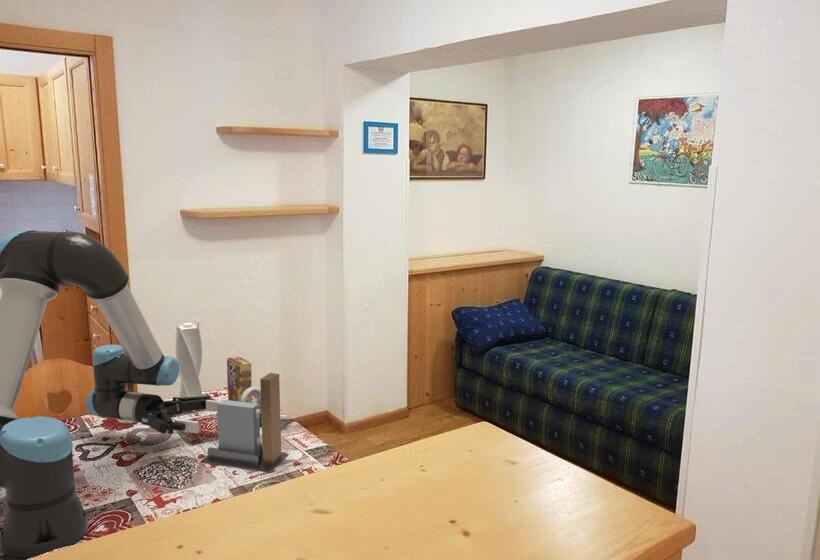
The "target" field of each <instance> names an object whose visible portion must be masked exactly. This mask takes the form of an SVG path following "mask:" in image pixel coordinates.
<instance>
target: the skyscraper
mask: <svg viewBox="0 0 820 560" xmlns="http://www.w3.org/2000/svg"><path fill="white" fill-rule="evenodd" d="M201 337H202V336H201V332H200V320H199V319H198V318H195V320H194V322H186V323H182V325H180V324H178V323H177V324H176V330H175V359H177V361H178V363H179V375H178V376H179V378H180V390H179V397H201V396H204V395H203V391H202V387H201V386H202V385H201V380H200V373H201V369H202V362H203V361H202V360H203V345H202V344H203V343H202V338H201ZM177 411H179V407H178V408H177ZM198 411H199V410H193V411H186V412H189V413H196V412H198Z"/></svg>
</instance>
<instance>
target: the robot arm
mask: <svg viewBox="0 0 820 560" xmlns="http://www.w3.org/2000/svg"><path fill="white" fill-rule="evenodd" d="M129 282H130V278H129V275H128V273H127V271H126V269H125V267H124V266H123V264H122V263H121V261H120V260H119V259H118V258H117V256H116V255H115V254H114V253H113V252H112V251H111V250H110V249H109V248H108V247H107V246H105V245H104V244H103V243H102V242H100V241H99V240H97V239H96V238H94V237H92V236H90V235H88V234H85V233H83V232H78V231H47V230H46V231H45V230H42V231H41V230H33V229H28V230H21V231H19V230H18V231H13V232H11V233H9V234H8V233H7V234H6V235H5V236H4V237H3V238H1V240H0V289H1V291H2V294H1V296H0V488H1V489H5V494H6V495H5V496H6V504H7V505H6V506H7V509H6V513H5V517H4V521H3V527H2V529H1V531H0V549H1V551H2V553H4V554H5V555H6V556H9V557H11V558H17V559H31V558H30V557H33V556H38V555H40V554H43V553H46V552H49V551H52V550H54V549H58V548H62V547H65V546H69V545H71V546H72V544H73V545H74V544H76V543H77V542H78V541H80V540H81V539H82V538H83V537H84V536H86V533H87V532H88V529H89V520H88V515H87V512H86V511H85V509H84V508H83V507H84V506H83V505H82V503H81V500H80V499H79V497H78V495H77V493H76V484H75V472H74V455H73V448H74V447H73V442H72V439H71V438H72V437H71V432H70V429H69V426H68V425H67V424H66V423H64V421H63V420H62V421H61V420H60V419H57V418H54V417H51V416H50V417H49V416H39V415H38V416H33V417H29V416H26V417H21V418H19V417H18V415H17V414H16V413H15V407H16V404H17V401H18V397H19V395H20V391H21V388H22V385H23V382H24V378H25V375H26V372H27V368H28V366H29V362H30V359H31V355H32V352H33V351H34V350H33V349H34V346H35V342H36V340H37V337H38V333H39V329H40V326H41V324H42V320H43V317H44V315H45V311H46V307H47V304H48V302H49V301H52V300H54V299H55V298H57V297H58V295H59V291H60V289H61V287H62V285H64V286H65V285H66V286H69V285H70V286H71V285H73V286H76V287H79V288H80V289H82V290H83V291H84V293H85V295H86V296H87V298H89V299H92V300H94V301H95V303H96V304H97V306H98V307H99V309H100V310H101V312H102V314H103V315H104V318H105V319H106V321H107V324H108V325H109V326H110V328H111V329H112V331H113V333H114V335H115V336H116V338H117V340H118V341H119V344H120V345H119V344H106V345H105V344H104V345H100V346H98V347H96V348H95V349H94V350H93V351H92V368H93V369H92V370H93V382H94V388H93V389H92V390H90V391H89V393H88V394H87V397H86V401H85V408H86V411H87V412H88V413H89V414H90V415H92V416H95V417H100V418H102V419H112V420H113V419H115V420H117V419H121V420H127V421H132V422H134V423H135V422H136V423H141V425H145V426H148V427H150V428H151V429H153V430H155V431H157V432H158V433H160V434H162V435H164V434H166V433H167V432H168V435H172V434H174V431H178V432H186V433H191V434H199V433H200V421H196V420H195V421H194V420H187V419H182V418H181V419H180V418H174V420H173V419H172V417H173V416H177V415H181V414H183V413H185V412H186V411H193V410H198V411H199V410H205V411H209V412H216V413H217V403H219V402H220V401H221V400H220V401H219V400H211V396H210V395H205V396H204V395H203V396H201V397H180V396H173V397H172V400H164V399H163V398H162V397H161V396H160V395H159V394H151V393H144V392H137V391H136V392H135V391H134V392H129V391H128V390H127V383H128V384H134V385H147V386H157V387H160V386H172V385H174V384H175V383H176V381H177V379H178V377H179V376H180V375H179V363H178V361H177V359H176V357H173V356H169V355H167V356H165V355H164V353H163V352H162V350H161V348H160V346H159V344H158V342H157V340H156V338H155V337H154V334H153V333H152V330H151V328H150V326H149V325H148V323H147V321H146V318H145V317H144V315H143V313H142V311H141V309H140V307H139V306H138V303H137V300H136V299H135V297H134V296H133V295H134V294H133V293H132V291H131V289H130V287H129V285H128V284H129ZM178 407H179V410H177V408H178ZM134 423H133V424H134ZM69 547H70V546H69ZM33 558H34V557H33Z"/></svg>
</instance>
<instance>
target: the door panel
mask: <svg viewBox="0 0 820 560" xmlns="http://www.w3.org/2000/svg"><path fill="white" fill-rule="evenodd" d="M216 415H217V435H218V437H217V439H218V447H219V449H225V450H232V451H240V452H247V453H254V454H260V456H261V453H260V446H261V444H262V437H261V430H260V429H261V427H260V420H259V418H260V409H259V403H255V402H252V403H248V402H239V401H231V400H228V399H222V400H220V402H219V403H217V412H216Z"/></svg>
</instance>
